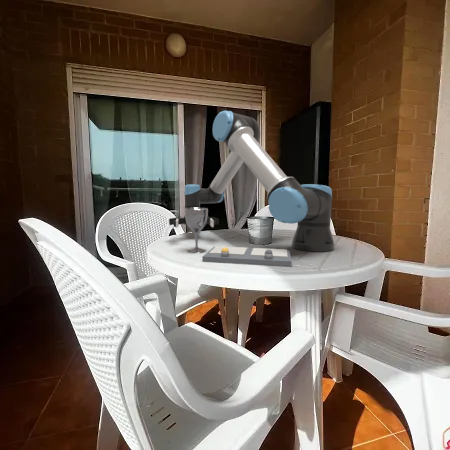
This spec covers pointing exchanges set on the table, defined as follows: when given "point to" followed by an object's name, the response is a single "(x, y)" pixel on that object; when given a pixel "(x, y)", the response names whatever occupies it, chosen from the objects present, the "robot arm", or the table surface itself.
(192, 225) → the wine glass
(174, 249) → the table surface
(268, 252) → the indicator board
